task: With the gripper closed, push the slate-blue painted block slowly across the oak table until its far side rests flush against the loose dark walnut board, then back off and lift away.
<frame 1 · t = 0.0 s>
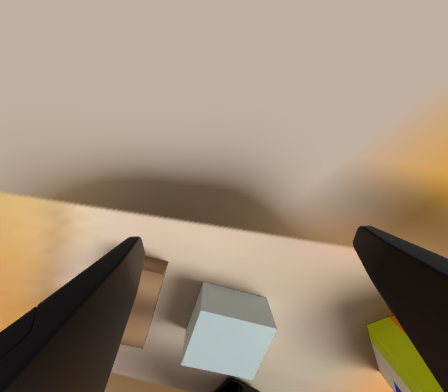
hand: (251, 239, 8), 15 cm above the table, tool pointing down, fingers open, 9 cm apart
board: (140, 291, 27), on the table
block: (226, 312, 28), on the table
puzzle toy: (403, 336, 31), on the table
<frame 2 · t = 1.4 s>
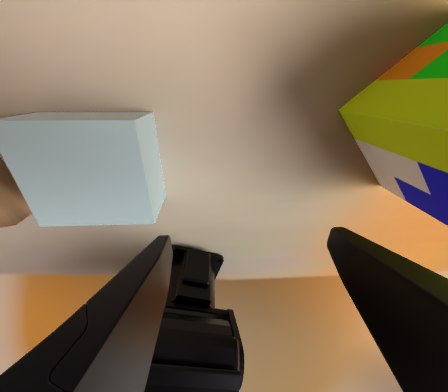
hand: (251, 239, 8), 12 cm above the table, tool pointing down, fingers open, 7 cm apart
block: (111, 157, 19), on the table
puzzle toy: (411, 113, 18), on the table
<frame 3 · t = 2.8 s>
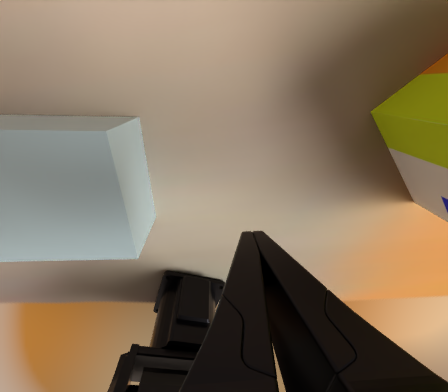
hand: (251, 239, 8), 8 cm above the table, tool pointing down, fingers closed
block: (88, 171, 15), on the table
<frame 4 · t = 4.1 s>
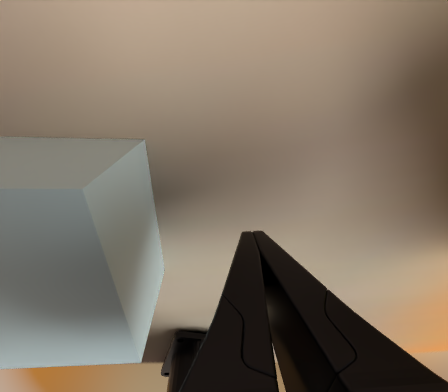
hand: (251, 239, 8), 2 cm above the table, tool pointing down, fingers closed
block: (69, 214, 11), on the table
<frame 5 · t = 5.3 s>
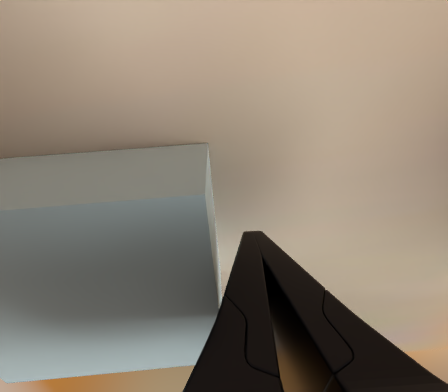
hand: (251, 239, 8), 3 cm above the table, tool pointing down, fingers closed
block: (131, 223, 11), on the table, touching gripper
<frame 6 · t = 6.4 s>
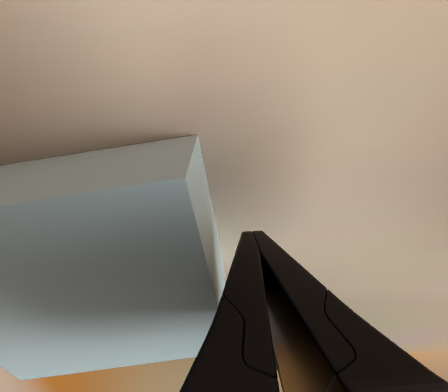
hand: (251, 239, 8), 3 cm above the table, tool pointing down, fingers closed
block: (131, 220, 11), on the table
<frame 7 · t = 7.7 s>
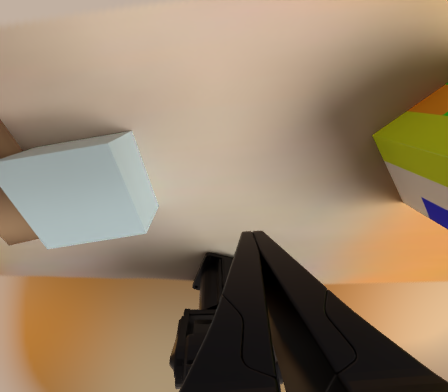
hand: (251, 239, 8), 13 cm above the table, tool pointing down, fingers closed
board: (19, 178, 20), on the table
block: (103, 178, 20), on the table
puzzle toy: (435, 140, 20), on the table
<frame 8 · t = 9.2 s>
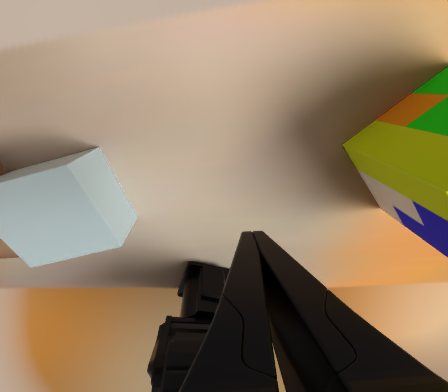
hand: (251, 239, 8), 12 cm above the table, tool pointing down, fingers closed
block: (80, 194, 21), on the table
puzzle toy: (408, 147, 20), on the table
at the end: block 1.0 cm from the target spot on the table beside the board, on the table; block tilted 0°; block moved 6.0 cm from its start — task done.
